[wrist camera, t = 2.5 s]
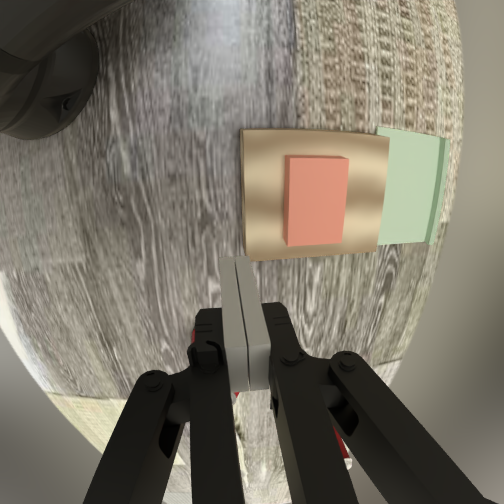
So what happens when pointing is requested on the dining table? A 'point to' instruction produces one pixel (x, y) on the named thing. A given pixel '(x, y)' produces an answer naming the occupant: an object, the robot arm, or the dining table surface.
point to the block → (314, 199)
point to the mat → (413, 186)
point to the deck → (273, 180)
